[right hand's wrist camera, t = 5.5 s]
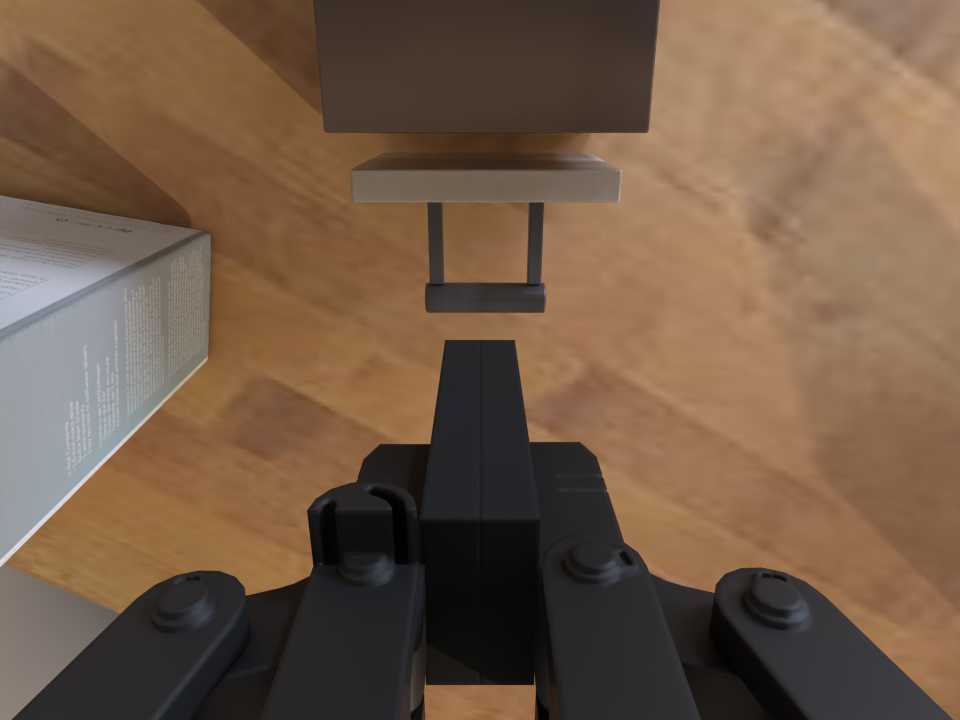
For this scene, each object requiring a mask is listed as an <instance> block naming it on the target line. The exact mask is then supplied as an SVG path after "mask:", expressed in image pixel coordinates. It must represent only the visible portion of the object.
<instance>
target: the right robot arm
mask: <svg viewBox="0 0 960 720" xmlns="http://www.w3.org/2000/svg"><path fill="white" fill-rule="evenodd" d="M307 513H308V522H309V531H310V540H311V548H312V557H313V569H312V572H311V575H310V576H309V577H307V578H305V579H303V580H301V581H299V582H297V583H295V584H291V585H288V586H285V587H282V588H278V589H274V590H270V591H265V592H261V593H256V594H252V595H248V596H246V594H245V588H244V586H243V585H242V584H241V583H240V582H239V581H238V580H237V578H236V577H234V576H231V575H229V574H226V573H223V572H221V571H195V572H190V573H185V574H181V575H176V576H174V577H172V578H170V579H167V580H165V581H163V582H161V583H158V584H156V585H154V586H153V587H152V588H150V589H149V590H148V591H146V592H145V593H143V594H142V595H141V596H139V597H138V598H137V599H136V600H135V601H134V602H133V603H132V604H131V605H129V606H128V607H127V608H126V609H125V610H124V611H123V612H122V613H121V614H120V615H119V616H118V617H117V618H116V619H115V620H114V621H113V622H112V623H111V624H110V625H109V626H108V627H107V628H106V629H105V630H104V631H103V632H102V633H101V634H100V635H99V636H98V637H96V638H95V639H94V640H93V641H92V642H91V643H90V644H89V645H88V646H87V647H86V648H85V649H84V650H83V651H82V652H81V653H80V654H79V655H78V656H77V657H76V658H75V659H74V660H73V661H72V662H71V663H70V664H69V665H68V666H67V667H66V668H65V669H63V670H62V671H61V672H60V673H59V674H58V675H57V676H56V677H55V678H54V679H53V680H52V681H51V682H50V683H49V684H48V685H47V686H46V687H45V688H44V689H43V690H42V691H41V692H40V693H39V694H38V695H37V696H36V697H35V698H34V699H33V700H31V701H30V702H29V703H28V704H27V705H26V706H25V707H24V708H23V709H22V710H21V711H20V712H19V713H18V714H17V715H16V716H15V717H14V718H13V719H12V720H425V704H424V686H425V675H426V685H534V672H535V683H536V704H535V720H953V719H952V718H951V717H950V716H949V715H948V714H947V713H946V712H945V711H943V710H942V709H941V708H940V707H939V706H938V705H937V704H936V703H935V702H934V701H933V700H932V699H931V698H930V697H929V696H928V695H927V694H926V693H925V692H924V691H923V690H922V689H921V688H920V687H919V686H918V685H916V684H915V683H914V682H913V681H912V680H911V679H910V678H909V677H908V676H907V675H906V674H905V673H904V672H903V671H902V670H901V669H900V668H899V667H898V666H897V665H896V664H895V663H894V662H893V661H892V660H890V659H889V658H888V657H887V656H886V655H885V654H884V653H883V652H882V651H881V650H880V649H879V648H878V647H877V646H876V645H875V644H874V643H873V642H872V641H871V640H870V639H869V638H868V637H867V636H866V635H865V634H863V633H862V632H861V631H860V630H859V629H858V628H857V627H856V626H855V625H854V624H853V623H852V622H851V621H850V620H849V619H848V618H847V617H846V616H845V615H844V614H843V613H842V612H841V611H840V610H839V609H837V608H836V607H835V606H834V605H833V604H832V603H831V602H830V601H829V600H828V599H827V598H826V597H825V596H824V595H823V594H821V593H820V592H819V591H817V590H816V589H814V588H813V587H812V586H810V585H809V584H808V583H806V582H804V581H802V580H800V579H798V578H795V577H793V576H791V575H789V574H786V573H784V572H779V571H775V570H770V569H765V568H740V569H738V570H735V571H732V572H729V573H727V574H725V575H724V576H723V577H722V578H721V579H720V581H719V582H718V583H717V584H716V588H715V593H712V592H707V591H703V590H698V589H694V588H689V587H685V586H681V585H678V584H674V583H671V582H668V581H665V580H663V579H661V578H659V577H657V576H655V575H653V574H651V573H649V571H648V568H647V565H646V564H645V562H644V561H643V559H642V558H641V556H640V555H639V553H638V552H637V551H635V550H634V549H632V548H631V547H630V546H628V545H627V544H625V543H624V540H623V537H622V534H621V531H620V528H619V525H618V522H617V519H616V516H615V513H614V509H613V506H612V503H611V500H610V497H609V494H608V492H607V488H606V485H605V482H604V479H603V478H602V473H601V470H600V466H599V463H598V460H597V457H596V456H595V455H594V454H593V453H591V452H590V451H589V450H588V449H587V448H586V447H585V446H584V445H582V444H581V443H580V442H529V437H528V430H527V423H526V416H525V409H524V402H523V395H522V388H521V381H520V374H519V367H518V360H517V353H516V346H515V340H445V346H444V353H443V360H442V367H441V374H440V381H439V388H438V395H437V402H436V409H435V416H434V423H433V430H432V437H431V444H380V445H379V446H378V447H377V448H376V449H374V450H373V451H372V452H371V453H370V454H369V455H368V456H367V457H366V458H364V460H363V463H362V466H361V469H360V472H359V475H358V480H357V482H356V483H349V484H346V485H343V486H340V487H337V488H333V489H331V490H329V491H328V492H326V493H324V494H323V495H321V496H320V497H318V498H316V500H315V501H314V502H313V503H312V505H311V506H310V507H309V509H308V510H307Z"/></svg>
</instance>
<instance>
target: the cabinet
mask: <svg viewBox="0 0 960 720" xmlns="http://www.w3.org/2000/svg"><path fill="white" fill-rule="evenodd" d="M659 7H660V0H314V11H315V23H316V36H317V48H318V60H319V72H320V85H321V97H322V109H323V121H324V131H325V132H326V133H647V132H648V131H649V121H650V109H651V98H652V87H653V75H654V64H655V53H656V41H657V30H658V19H659Z"/></svg>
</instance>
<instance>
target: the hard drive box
mask: <svg viewBox="0 0 960 720" xmlns="http://www.w3.org/2000/svg"><path fill="white" fill-rule="evenodd" d="M210 274H211V235H210V233H208V232H206V231H202V230H196V229H190V228H184V227H178V226H171V225H165V224H160V223H156V222H151V221H145V220H139V219H133V218H127V217H121V216H114V215H108V214H103V213H97V212H91V211H86V210H81V209H76V208H70V207H64V206H58V205H52V204H46V203H41V202H35V201H29V200H24V199H18V198H13V197H7V196H2V195H0V567H1V566H2V565H3V564H4V563H5V562H6V561H7V560H8V559H9V558H10V557H11V556H12V555H13V554H14V553H15V552H16V551H17V550H18V549H19V548H20V547H21V546H22V545H23V544H24V543H25V542H26V541H27V540H28V539H29V538H30V537H31V536H32V535H33V534H34V533H35V532H36V531H37V530H38V529H39V528H40V527H41V526H42V525H43V524H44V523H45V522H46V521H47V520H48V519H49V518H50V517H51V516H52V515H53V514H54V513H55V512H56V511H57V510H58V509H59V508H60V507H61V506H62V505H63V504H64V503H65V502H66V501H67V500H68V499H69V498H70V497H71V496H72V495H73V494H74V493H75V492H76V491H77V490H78V489H79V488H80V487H81V486H82V485H83V484H84V483H85V482H86V481H87V480H88V479H89V478H90V477H91V476H92V475H93V474H94V473H95V472H96V471H97V470H98V469H99V468H100V467H101V466H102V465H103V464H104V463H105V462H106V461H107V460H108V459H109V458H110V457H111V456H112V455H113V454H114V453H115V452H116V451H117V450H118V449H119V448H120V447H121V446H122V445H123V444H124V443H125V442H126V441H127V440H128V439H129V438H130V437H131V436H132V435H133V434H134V433H135V432H136V431H137V430H138V429H139V428H140V427H141V426H142V425H143V424H144V423H145V422H146V421H147V420H148V419H149V418H150V417H151V416H152V415H153V414H154V413H155V412H156V411H157V410H158V409H159V408H160V407H161V406H162V405H163V404H164V403H165V402H166V401H167V400H168V399H169V398H170V397H171V396H172V395H173V394H174V393H175V392H176V391H177V390H178V389H179V388H180V387H181V386H182V385H183V384H184V383H185V382H186V381H187V380H188V379H189V378H190V377H191V376H192V375H193V374H194V373H195V372H196V371H197V370H198V369H199V368H200V367H201V366H202V365H203V364H204V363H205V362H206V361H207V360H208V345H209V311H210Z"/></svg>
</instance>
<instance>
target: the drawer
mask: <svg viewBox="0 0 960 720" xmlns="http://www.w3.org/2000/svg"><path fill="white" fill-rule="evenodd" d="M350 175H351V189H352V200H353V202H428V233H429V268H430V283H426V288H425V306H426V311H427V312H428V313H543V312H544V311H545V305H546V288H545V284H544V283H541V271H542V242H543V213H544V202H591V203H617V202H619V201H620V192H621V179H622V170H621V169H619V168H617V167H615V166H613V165H611V164H609V163H607V162H605V161H603V160H601V159H599V158H597V157H596V156H594V155H592V154H590V153H382V154H380V155H378V156H376V157H374V158H372V159H370V160H368V161H366V162H365V163H363V164H361V165H359V166H357V167H355V168H353V169H351V171H350ZM443 202H529V218H528V255H527V283H444V251H443Z"/></svg>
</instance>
